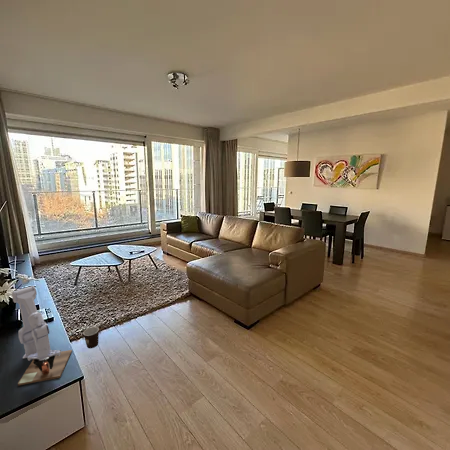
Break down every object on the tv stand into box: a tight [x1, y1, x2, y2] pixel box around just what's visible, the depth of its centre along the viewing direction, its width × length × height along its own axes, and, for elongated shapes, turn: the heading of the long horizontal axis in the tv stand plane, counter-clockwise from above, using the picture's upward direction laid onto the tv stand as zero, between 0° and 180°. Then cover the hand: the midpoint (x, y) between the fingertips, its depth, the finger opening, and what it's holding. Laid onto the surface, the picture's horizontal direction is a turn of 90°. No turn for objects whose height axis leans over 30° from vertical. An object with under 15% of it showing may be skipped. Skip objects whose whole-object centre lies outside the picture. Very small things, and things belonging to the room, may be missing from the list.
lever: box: [41, 357, 49, 374], centre depth 136 cm, size 14×7×5 cm, turn 50°
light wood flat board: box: [17, 349, 73, 386], centre depth 137 cm, size 20×19×5 cm
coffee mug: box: [81, 326, 100, 349], centre depth 155 cm, size 12×9×10 cm
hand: (46, 368), depth 132 cm, fingers open, 4 cm apart
